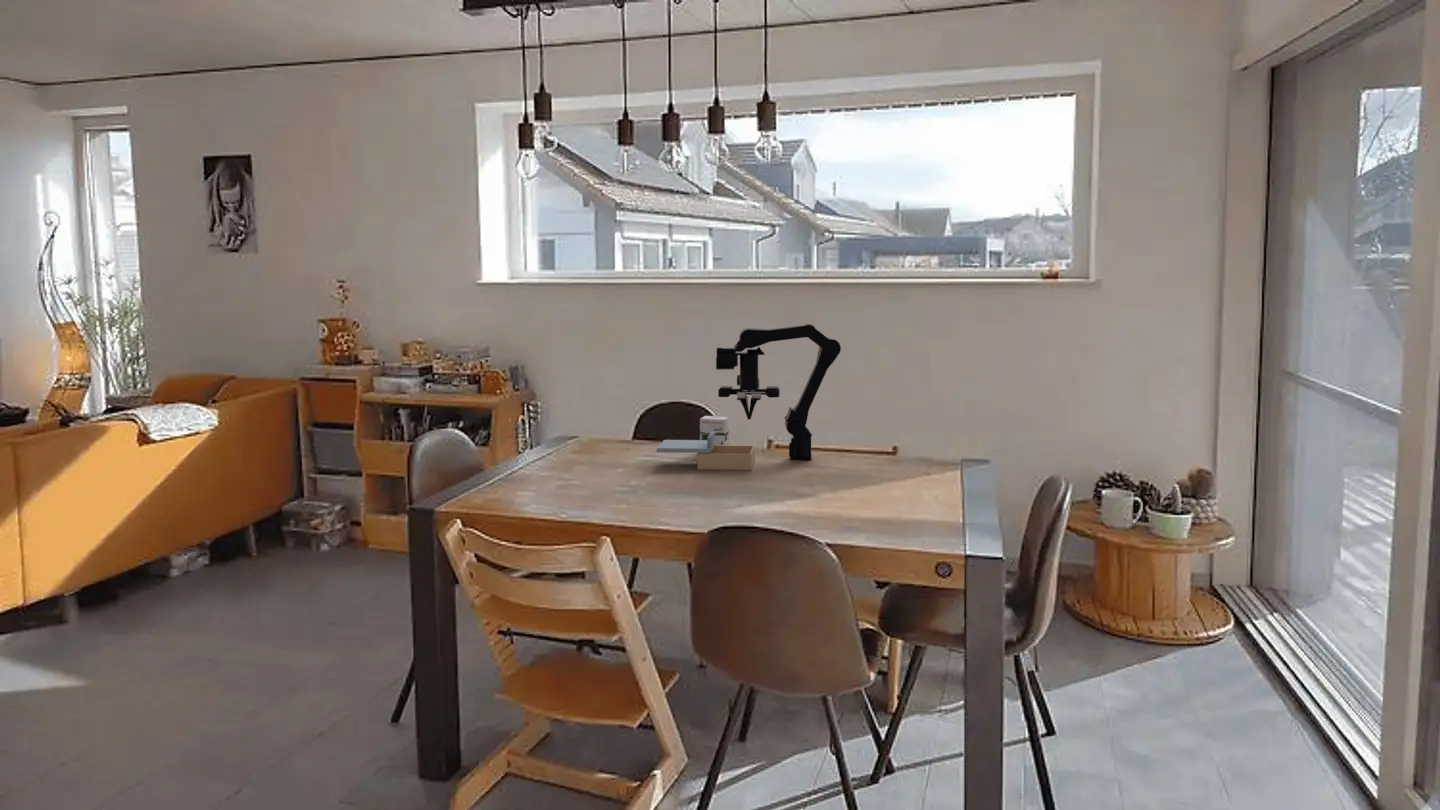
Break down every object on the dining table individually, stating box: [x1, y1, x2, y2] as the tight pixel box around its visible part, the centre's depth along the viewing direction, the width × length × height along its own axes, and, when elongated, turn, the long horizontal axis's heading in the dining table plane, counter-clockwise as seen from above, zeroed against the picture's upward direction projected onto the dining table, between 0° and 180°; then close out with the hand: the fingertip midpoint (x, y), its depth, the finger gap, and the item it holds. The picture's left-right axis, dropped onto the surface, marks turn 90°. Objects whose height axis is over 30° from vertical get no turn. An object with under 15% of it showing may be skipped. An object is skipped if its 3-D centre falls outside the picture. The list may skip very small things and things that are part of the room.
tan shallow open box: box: [697, 444, 756, 472], centre depth 316 cm, size 16×14×5 cm
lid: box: [656, 432, 715, 454], centre depth 317 cm, size 16×14×4 cm
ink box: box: [699, 415, 730, 445], centre depth 335 cm, size 8×5×12 cm, turn 73°
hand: (749, 419), depth 325 cm, fingers closed
